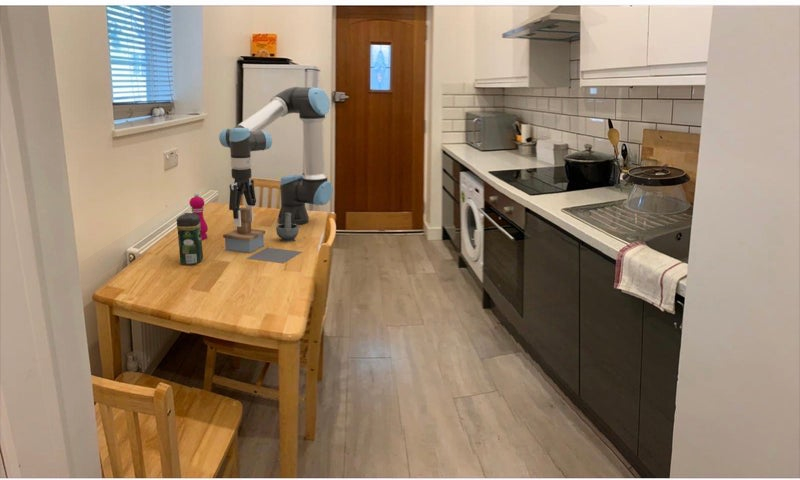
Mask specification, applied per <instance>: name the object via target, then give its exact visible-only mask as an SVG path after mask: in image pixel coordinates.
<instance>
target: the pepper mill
mask: <svg viewBox="0 0 800 480" xmlns="http://www.w3.org/2000/svg"><path fill="white" fill-rule="evenodd" d="M189 206H190V207H191V208H190V209H191V213H196V214H197V215H199V217H200V227H201V240H202V241H203V240H207V239H208V229H209V228H208V227H209V226H208V225H207V222H206V220H205V218H204V217H205V216H204V211H205V210H204V209H205V208H204V206H205V199H203V197H201V196H200V195H199V193H197V192H196V193H194V195H193V197H191V198H190V200H189Z"/></svg>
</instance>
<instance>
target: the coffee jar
mask: <svg viewBox="0 0 800 480" xmlns="http://www.w3.org/2000/svg"><path fill="white" fill-rule="evenodd" d="M176 229H177V236H178V237H177V238H178V249H179V262H180V264H181V265H187V266H194V265H198V264H200V263H201V262H203V260H204V259H203V258H204V253H203V251H204V250H203V240H201V227H200V217H199V215H197V214H196V213H193V212H184V213H183V214H181V215H179V216H178V217H177V218H176Z"/></svg>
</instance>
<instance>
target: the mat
mask: <svg viewBox="0 0 800 480" xmlns="http://www.w3.org/2000/svg"><path fill="white" fill-rule="evenodd" d="M302 253H303V251H299V250H290V249H284V248H283V249H282V248H277V247H266V248H264V249H261V250H260V251H258V252H256V253H254V254H252V255H250V256H248V257H246V260H247V259H248V260H255V261H260V262H261V261H263V262H270V263H276V264H277V263H278V264H285V263H287V262H288V261H290V260H291V259H293V258H295V257H297V256H298V255H300V254H302Z"/></svg>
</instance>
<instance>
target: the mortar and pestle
mask: <svg viewBox="0 0 800 480" xmlns="http://www.w3.org/2000/svg"><path fill="white" fill-rule="evenodd" d="M285 216H286V217H285V224H280V223H279V224H277V225H276V229H275V231H276V234H277V236H278V238H280V241H281V242H285V243H286V242H287V243H288V242H289V243H291V242H296V238H298V237H297V236H298V235H299V230H300V225H296V224H291V213H285Z"/></svg>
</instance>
